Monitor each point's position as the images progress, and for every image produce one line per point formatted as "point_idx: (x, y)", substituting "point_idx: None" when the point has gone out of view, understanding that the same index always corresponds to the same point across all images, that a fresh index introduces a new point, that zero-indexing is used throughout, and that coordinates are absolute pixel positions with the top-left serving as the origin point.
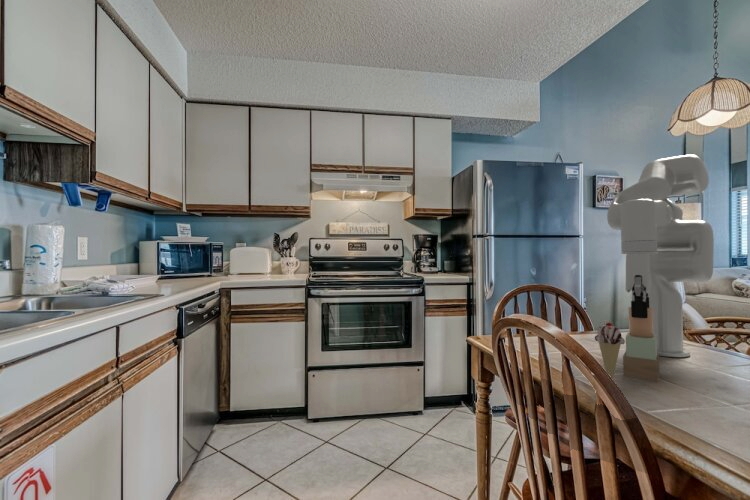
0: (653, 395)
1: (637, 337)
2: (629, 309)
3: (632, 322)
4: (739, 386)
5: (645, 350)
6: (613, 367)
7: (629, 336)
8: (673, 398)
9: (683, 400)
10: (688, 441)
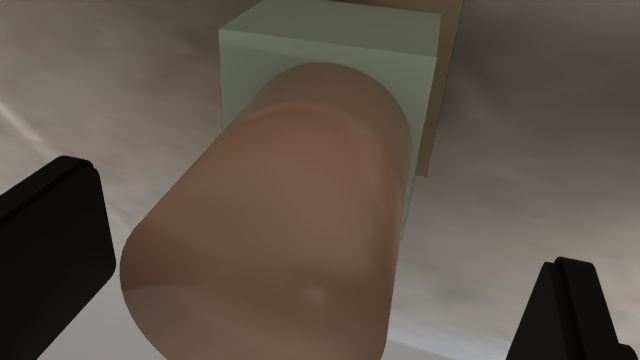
0: (82, 61)
1: (232, 110)
2: (186, 188)
3: (221, 134)
4: (387, 331)
5: None
6: None
7: (237, 57)
8: (100, 119)
9: (103, 144)
10: None
